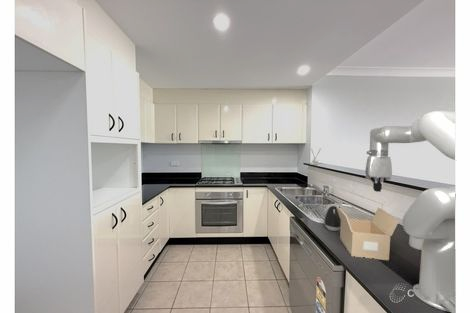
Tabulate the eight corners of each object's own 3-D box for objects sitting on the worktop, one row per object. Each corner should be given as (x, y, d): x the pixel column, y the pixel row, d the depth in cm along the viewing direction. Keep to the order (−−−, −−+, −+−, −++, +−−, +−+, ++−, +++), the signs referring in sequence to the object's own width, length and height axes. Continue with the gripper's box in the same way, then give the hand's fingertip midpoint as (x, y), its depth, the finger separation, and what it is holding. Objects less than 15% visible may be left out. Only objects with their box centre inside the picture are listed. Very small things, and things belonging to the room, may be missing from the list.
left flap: (340, 217, 120) (339, 218, 120) (336, 204, 120) (335, 204, 120) (352, 231, 101) (351, 232, 101) (347, 216, 101) (345, 216, 101)
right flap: (390, 235, 98) (391, 235, 97) (397, 220, 97) (399, 220, 96) (372, 220, 117) (373, 220, 117) (378, 207, 116) (379, 207, 116)
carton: (388, 260, 98) (390, 236, 97) (351, 256, 101) (352, 232, 101) (370, 241, 118) (371, 220, 117) (339, 238, 121) (340, 218, 120)
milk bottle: (421, 251, 106) (424, 213, 105) (405, 244, 114) (407, 208, 113) (432, 250, 109) (434, 212, 107) (415, 243, 116) (418, 207, 115)
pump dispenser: (345, 231, 130) (346, 207, 129) (333, 234, 126) (334, 209, 125) (332, 225, 140) (333, 203, 139) (320, 227, 136) (321, 204, 135)
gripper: (365, 153, 100) (364, 192, 100) (400, 154, 97) (398, 193, 98) (358, 153, 107) (357, 189, 108) (391, 153, 105) (389, 190, 105)
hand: (377, 191), depth 103 cm, fingers closed
